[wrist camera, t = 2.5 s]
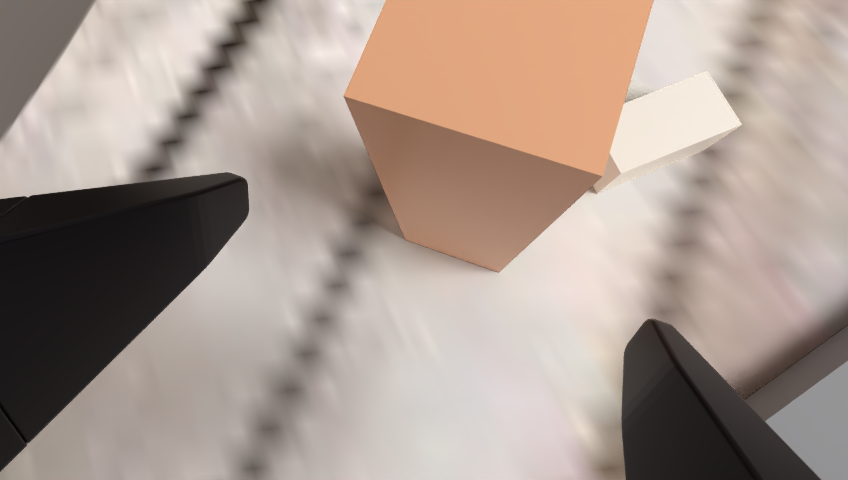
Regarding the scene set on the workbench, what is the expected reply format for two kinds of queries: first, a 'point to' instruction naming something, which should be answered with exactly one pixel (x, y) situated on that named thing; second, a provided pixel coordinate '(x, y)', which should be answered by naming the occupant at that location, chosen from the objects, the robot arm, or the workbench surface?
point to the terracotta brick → (492, 114)
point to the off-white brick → (667, 129)
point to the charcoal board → (812, 407)
